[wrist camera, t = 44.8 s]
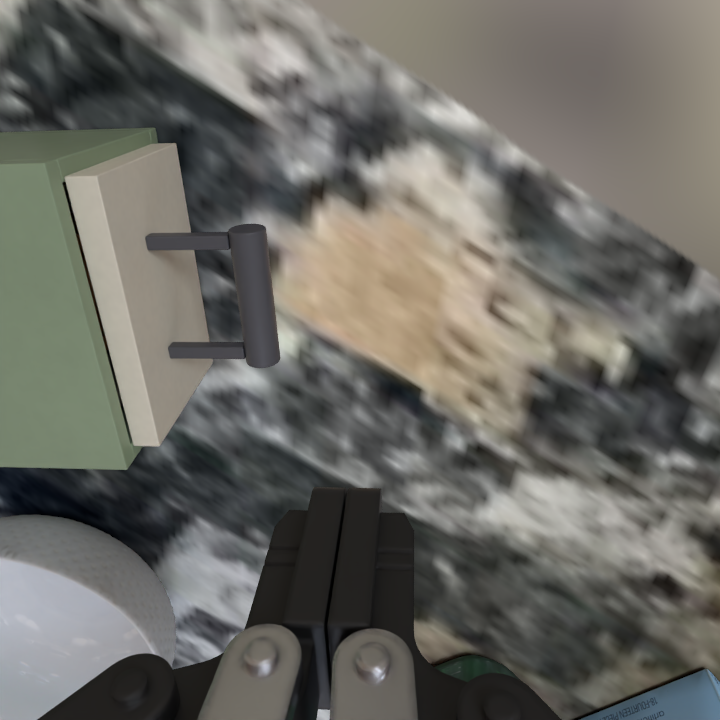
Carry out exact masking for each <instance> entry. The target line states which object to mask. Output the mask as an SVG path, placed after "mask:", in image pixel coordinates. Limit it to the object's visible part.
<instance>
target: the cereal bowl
mask: <svg viewBox="0 0 720 720" xmlns="http://www.w3.org/2000/svg"><path fill="white" fill-rule="evenodd" d="M176 637H177V636H176V624H175V616H174V614H173V607H172V606H171V603H170V599H169V597H168V595H167V593H166V591H165V588H164V587H163V586H162V584H161V581H160V580H159V579H158V578H157V576H156V574H155V572H154V571H152V569H151V568H150V567H149V566H148V564H147V563H146V562H144V561H143V560H142V558H141V557H140V556H138V554H137V553H135V552H134V551H133V550H132V549H131V548H129V547H127V546H126V545H125V544H123V543H122V542H121V541H119V540H117V539H115V538H113V537H112V536H111V535H110V534H106V533H104V532H103V531H100V530H98V529H97V528H94V527H91V526H90V525H85V524H83V523H82V522H77V521H75V520H70V519H66V518H62V517H53V516H48V515H18V516H9V517H1V518H0V720H37V719H39V718H40V717H41V716H43V715H44V714H45V713H47V712H48V711H50V710H51V709H52V708H54V707H55V706H56V705H58V704H59V703H61V702H62V701H63V700H65V699H66V698H67V697H69V696H70V695H72V694H73V693H74V692H76V691H77V690H78V689H80V688H81V687H83V686H84V685H85V684H87V683H88V682H89V681H91V680H92V679H93V678H95V677H96V676H98V675H99V674H100V673H102V672H103V671H104V670H106V669H107V668H109V667H110V666H111V665H113V664H114V663H116V662H118V661H119V660H121V659H123V658H126V657H128V656H131V655H136V654H142V653H149V654H155V655H158V656H160V657H162V658H164V659H165V660H166V661H167V662H168V663H169V664H170V666H171V667H172V662H173V660H174V652H175V649H176Z"/></svg>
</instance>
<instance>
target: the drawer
mask: <svg viewBox="0 0 720 720" xmlns="http://www.w3.org/2000/svg"><path fill="white" fill-rule="evenodd" d="M64 178H65V182H63V187H64V191H65V195H66V199H67V202H68V206H69V210H70V213H74V217H75V221H76V225H77V229H78V233H79V236H80V240H81V244H82V248H83V252H84V256H85V260H86V264H87V267H88V271H89V275H90V279H91V283H92V287H93V291H94V295H95V298H96V302H97V306H98V310H99V314H100V318H101V322H102V326H103V329H104V333H105V337H106V341H107V345H108V349H109V350H107V351H106V352H107V356H108V360H109V364H110V367H111V371H112V375H113V379H114V383H115V387H116V390H117V394H118V398H119V402H120V406H122V405H123V407H124V411H125V415H126V419H127V422H128V426H129V430H130V434H131V438H132V442H133V445H134V446H160V445H161V443H162V442H163V440H164V439H165V437H166V435H167V434H168V432H169V431H170V429H171V428H172V426H173V424H174V423H175V421H176V420H177V418H178V417H179V415H180V413H181V412H182V410H183V409H184V407H185V406H186V404H187V403H188V401H189V399H190V398H191V396H192V395H193V393H194V392H195V390H196V388H197V387H198V385H199V384H200V382H201V381H202V379H203V377H204V376H205V374H206V373H207V371H208V370H209V368H210V366H211V365H212V363H213V359H245V357H246V362H247V364H248V365H249V366H251V367H255V368H266V367H270V366H273V365H275V364H277V363H278V362H279V360H280V351H279V342H278V333H277V324H276V315H275V306H274V297H273V288H272V279H271V270H270V261H269V252H268V243H267V234H266V228H265V226H263V225H259V224H243V225H238V226H234V227H232V228H230V229H229V231H228V232H193V233H191V229H190V223H189V217H188V211H187V205H186V199H185V194H184V188H183V182H182V176H181V170H180V164H179V158H178V152H177V146H176V143H161V144H150V145H147V146H145V147H142V148H139V149H137V150H134V151H131V152H129V153H126V154H123V155H121V156H118V157H115V158H113V159H110V160H107V161H105V162H102V163H99V164H97V165H94V166H91V167H89V168H86V169H83V170H81V171H78V172H75V173H73V174H70V175H67V176H65V177H64ZM230 248H231V255H232V262H233V269H234V276H235V283H236V290H237V298H238V305H239V312H240V319H241V326H242V333H243V340H244V342H210V341H209V335H208V329H207V323H206V317H205V311H204V306H203V300H202V294H201V288H200V282H199V276H198V270H197V264H196V258H195V253H194V250H228V249H230Z"/></svg>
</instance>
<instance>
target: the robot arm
mask: <svg viewBox="0 0 720 720" xmlns="http://www.w3.org/2000/svg"><path fill="white" fill-rule="evenodd" d="M318 709H328V710H330V720H561V719H560V718H559V717H558V716H557V715H556V714H555V713H554V712H553V710H552V709H551V708H550V707H549V706H548V705H547V704H546V703H545V702H544V701H543V700H542V699H541V698H540V697H539V696H538V695H537V694H536V693H535V692H534V691H533V690H532V689H531V688H530V687H529V686H527V685H526V684H525V683H523V682H522V681H520V680H519V679H517V678H514V677H512V676H509V675H506V674H501V673H487V674H482V675H479V676H477V677H475V678H473V679H471V680H470V681H469V682H466V681H463V680H460V679H458V678H455V677H453V676H450V675H447V674H445V673H443V672H441V671H439V670H438V669H436V668H434V667H433V666H432V665H431V664H430V663H428V662H427V661H426V659H425V658H424V657H423V656H422V654H421V653H420V651H419V650H418V647H417V645H416V642H415V639H414V530H413V528H412V526H411V524H410V523H409V521H408V519H407V517H406V515H405V514H404V513H382V491H381V489H375V488H349V489H348V492H347V488H329V487H314V488H313V491H312V495H311V499H310V503H309V508H308V511H302V510H289V511H288V512H287V513H286V514H285V516H284V517H283V518H282V519H281V520H280V521H279V523H278V524H277V525H276V526H275V528H274V532H273V535H272V539H271V542H270V545H269V550H268V552H267V556H266V559H265V565H264V566H263V569H262V573H261V576H260V580H259V583H258V586H257V590H256V593H255V597H254V600H253V604H252V607H251V610H250V614H249V617H248V621H247V624H246V627H245V629H244V631H242V632H241V633H239V634H238V635H237V636H235V637H234V638H233V640H232V641H231V642H230V643H229V644H228V646H227V647H226V649H225V651H224V653H222V654H221V655H219V656H217V657H215V658H213V659H211V660H208V661H205V662H201V663H198V664H194V665H190V666H186V667H182V668H178V669H174V670H172V667H171V666H170V664H169V663H168V662H167V661H166V660H165V659H164V658H162V657H160V656H158V655H155V654H149V653H142V654H136V655H131V656H128V657H126V658H123V659H121V660H119V661H118V662H116V663H114V664H113V665H111V666H110V667H109V668H107V669H106V670H104V671H103V672H102V673H100V674H99V675H98V676H96V677H95V678H93V679H92V680H91V681H89V682H88V683H87V684H85V685H84V686H83V687H81V688H80V689H78V690H77V691H76V692H74V693H73V694H72V695H70V696H69V697H67V698H66V699H65V700H63V701H62V702H61V703H59V704H58V705H56V706H55V707H54V708H52V709H51V710H50V711H48V712H47V713H45V714H44V715H43V716H41V717H40V718H39V719H37V720H316V718H317V711H318Z"/></svg>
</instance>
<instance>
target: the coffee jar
mask: <svg viewBox="0 0 720 720" xmlns="http://www.w3.org/2000/svg"><path fill="white" fill-rule="evenodd" d="M434 668H436V669H438V670H439V671H441V672H443V673H445V674H447V675H450V676H453V677H455V678H458V679H460V680H463V681H466V682H469V681H470V680H471V679H473V678H475V677H477V676H479V675H482V674H487V673H501V674H506V675H509V676H512V677H514V678H517V677H516V676H515V674H514V673H513V672H511V671H510V670H509V669H508V668H507V667H505V666H504V665H502V664H500V663H498V662H496V661H494V660H491V659H488V658H484V657H480V656H477V655H467V656H463V657H459V658H456V659H454V660H450V661H448V662H445V663H443V664H440V665H438V666H435V667H434ZM517 679H518V678H517Z"/></svg>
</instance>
